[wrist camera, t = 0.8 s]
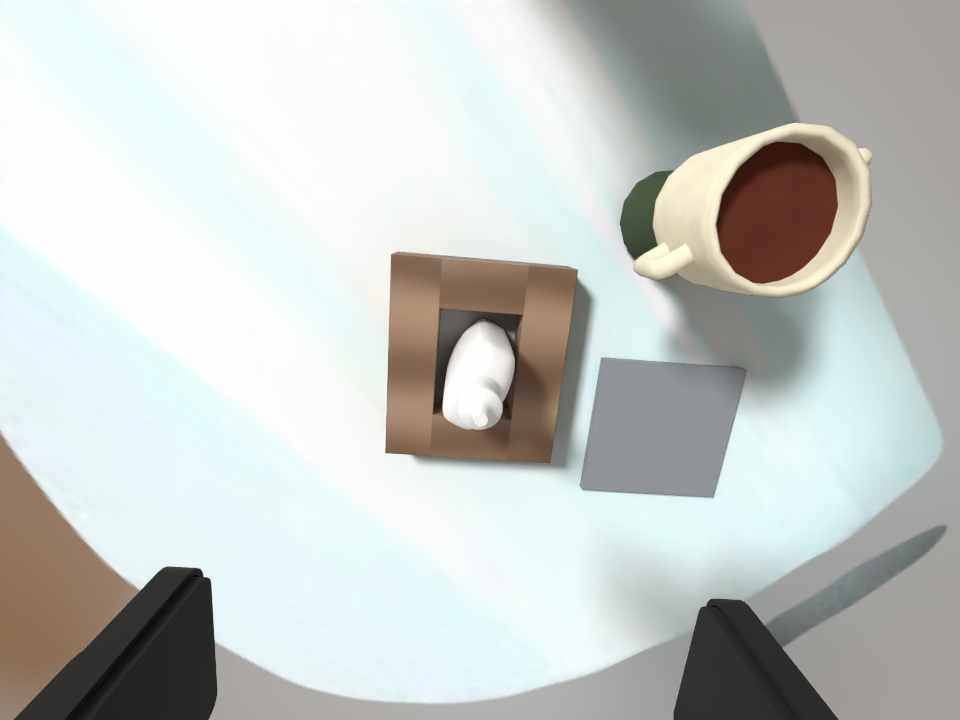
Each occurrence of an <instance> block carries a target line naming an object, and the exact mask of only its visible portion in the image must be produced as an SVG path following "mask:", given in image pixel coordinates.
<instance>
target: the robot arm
mask: <svg viewBox="0 0 960 720" xmlns="http://www.w3.org/2000/svg"><path fill="white" fill-rule="evenodd" d="M216 697H217V677H216V660H215V642H214V625H213V607H212V590H211V581H210V579H209V578H207V577H203V572H202V571H201V569H198V568H185V567H165V568H163V569H161V570H160V571H159V572H158V573H157V574H156V575H155V576H154V577H153V578H152V579H151V580H150V581H149V582H148V583H147V584H146V585H145V587H144V588H143V589H142V590H141V591H140V592H139V593H138V594H137V595H136V596H135V597H134V598H133V599H132V600H131V601H130V602H129V603H128V604H127V605H126V606H125V608H124V609H123V610H122V611H121V612H120V613H119V614H118V615H117V616H116V617H115V618H114V619H113V620H112V621H111V622H110V623H109V624H108V625H107V626H106V628H104V630H103V631H102V632H101V633H100V634H99V635H98V636H97V637H96V638H95V639H94V640H93V641H92V642H91V643H90V644H89V645H88V646H87V648H85V649H84V651H82V652H80V653H79V654H78V655H77V656H76V657H74V658H73V659H72V660H71V661H70V662H69V663H68V664H67V665H66V666H65V667H64V668H63V669H62V670H61V671H60V672H59V673H58V674H57V675H56V676H55V677H54V678H53V679H52V681H51V682H50V683H49V684H48V685H47V686H46V687H45V688H44V689H43V690H42V691H41V692H40V693H39V694H38V695H37V696H36V697H35V698H34V699H33V700H32V701H31V702H30V704H28V705H27V707H26V708H25V709H24V710H23V711H22V712H21V713H20V714H19V715H18V716H17V717H16V718H15V719H14V720H208V719H209V717H210V715H211V713H212V711H213V708H214V705H215V702H216ZM674 720H838V718H837V717H836V716H835V715H834V713H833V712H832V711H831V709H830V708H829V707H828V706H827V704H826V703H825V702H824V701H823V699H822V698H821V697H820V696H819V694H818V693H817V692H816V691H815V689H814V688H813V687H812V685H811V684H810V683H809V682H808V680H807V679H806V678H805V677H804V675H803V674H802V673H801V672H800V670H799V669H798V668H797V666H796V665H795V664H794V663H793V661H792V660H791V659H790V658H789V656H788V655H787V654H786V653H785V651H784V650H783V649H782V647H781V646H780V645H779V644H778V642H777V641H776V640H775V639H774V637H773V636H772V635H771V633H770V632H769V631H768V630H767V628H766V627H765V626H764V625H763V623H762V622H761V621H760V620H759V618H758V617H757V616H756V615H755V613H754V612H753V611H752V609H751V608H750V607H749V606H748V605H747V604H746V603H745V602H743V601H741V600H728V599H710V600H709V601H708V603H707V605H706V606H704V607H701V608H700V611H699V614H698V618H697V621H696V625H695V629H694V634H693V637H692V642H691V646H690V650H689V653H688V657H687V661H686V665H685V669H684V674H683V677H682V682H681V685H680V689H679V694H678V697H677V701H676V705H675V709H674Z"/></svg>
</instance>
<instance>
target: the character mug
mask: <svg viewBox="0 0 960 720" xmlns="http://www.w3.org/2000/svg"><path fill="white" fill-rule="evenodd" d="M872 156H873V153H872V152H870V151H869V150H868V149H866V148H857V146H856V144H855V142H853V141H851V140H850V139H848V138H847V137H845V136H844V135H842V134H840V133H839V132H837V131H836V130H834V129H832V128H831V127H829V126H826V125H815V124H804V123H791V124H787V125H783V126H780V127H777V128H774V129H771V130H768V131H765V132H761V133H758V134H755V135H752V136H749V137H746V138H743V139H740V140H737V141H733V142H730V143H727V144H724V145H721V146H718V147H715V148H712V149H710V150H707V151H704V152H701V153H698V154H695V155H693V156H691V157H689V158H688V159H687V160H686V161H685V162H684V163H683V164H682V165H680V166H679V167H678V168H677V169H676V170H673V171H661V172H655V173H654V174H652V175H650V176H648V177H647V178H645V179H643V180H642V181H640V182H638V183H637V184H636V185H635V187H634V188H633V190H632V191H631V193H630V194H629V195H628V197H627V198H626V200H625V201H624V205H623V210H622V215H621V220H620V226H621V231H622V236H623V240H624V244H625V245H626V247H627V248H628V250H629V251H630V252H631V254H632V255H633V257H634V258H635V259H637V260H636V261H634V271H635V272H636V273H637V274H638V275H640V276H642V277H646V278H650V279H653V280H660V279H665V278H668V277H670V276H672V275H674V274H676V273H677V274H678V275H680V276H681V277H683V278H684V279H685V280H687V281H689V282H691V283H693V284H698V285H707V286H709V287H712V288H714V289H719V290H723V291H727V292H733V293H741V294H746V295H755V296H765V297H775V298H783V297H788V296H793V295H798V294H802V293H804V292H807V291H809V290H812V289H814V288H816V287H818V286H819V285H821V284H822V283H824V282H825V281H827V280H828V279H829V278H830V277H831V276H833V275H834V274H835V273H836V272H837V271H838V270H839V269H840V268H841V267H842V266H843V265H844V264H845V263H846V262H847V260H848V259H849V257H850V255H851V254H852V252H853V251H854V249H855V248H856V246H857V244H858V243H859V241H860V240H861V238H862V236H863V233H864V230H865V226H866V223H867V219H868V216H869V212H870V208H871V205H872V194H871V176H870V169H869V167H868V164H870V162H871V159H872Z"/></svg>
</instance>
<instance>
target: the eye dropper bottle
mask: <svg viewBox="0 0 960 720" xmlns="http://www.w3.org/2000/svg"><path fill="white" fill-rule="evenodd" d="M514 367H515V358H514V354H513V351H512V348H511V345H510V342H509V340H508V337H507V335H506V332H505V331H504V330H503V328H501V327H499V326H498V325H496V324H494V323H492V322H490V321H489V320H486V319H481V320H478V321H477V322H475V323H474V324H473V325H472V326H470V327H469V328H468V329H467V330H466V331H465V332H464V333H463V335H462V336H461V337H460V338H459V340H458V341H457V343H456V345H455V346H454V348H453V351H452V353H451V355H450V358H449V362H448V366H447V372H446V380H445V387H444V396H443V415H444V417H445V418H446V419H447V420H448V421H449V422H451V423H453V424H455V425H457V426H459V427H461V428H463V429H467V430H470V429H476V430H477V429H478V430H479V429H480V430H483V429H486V428H487V429H488V428H490V427H492V426H493V425H494V424H496V423H497V421H499V419H500V417H501V415H502V413H503V403H502V402H503V401H504V399H505V397H506V395H507V393H508V391H509V388H510V385H511V382H512V378H513V374H514Z"/></svg>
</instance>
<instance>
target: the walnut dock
mask: <svg viewBox="0 0 960 720" xmlns="http://www.w3.org/2000/svg"><path fill="white" fill-rule="evenodd" d="M577 273H578V270H577V269H574V268H571V267H568V266H559V265H547V264H536V263H524V262H512V261H500V260H489V259H477V258H465V257H454V256H442V255H430V254H418V253H407V252H396V253H393V254H391V280H390V314H389V348H388V382H387V417H386V451H385V453H392V454H409V455H425V456H441V457H458V458H474V459H490V460H507V461H523V462H539V463H550V460H551V454H552V447H553V440H554V433H555V426H556V419H557V412H558V405H559V398H560V391H561V384H562V377H563V370H564V363H565V356H566V349H567V342H568V335H569V329H570V322H571V315H572V308H573V301H574V294H575V287H576V280H577ZM441 308H443V309H456V310H468V311H481V312H494V313H506V314H517V323H516V333H515V342H514V351H513V354H514V358H515V367H514V374H513V378H512V382H511V385H510V388H509V396H508V404H503V413H502V415H501V417H500V419H499V421H497V423H496V424H494V425H493V426H492V427H490V428H488V429H487V428H486V429H483V430H480V429H479V430H478V429H477V430H476V429H470V430H467V429H463V428H461V427H459V426H457V425H455V424H453V423H451V422H449V421H448V420H447V419H446V418H445V417H444V415H443V400H437V399H435V394H436V378H437V362H438V346H439V329H440V313H441Z"/></svg>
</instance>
